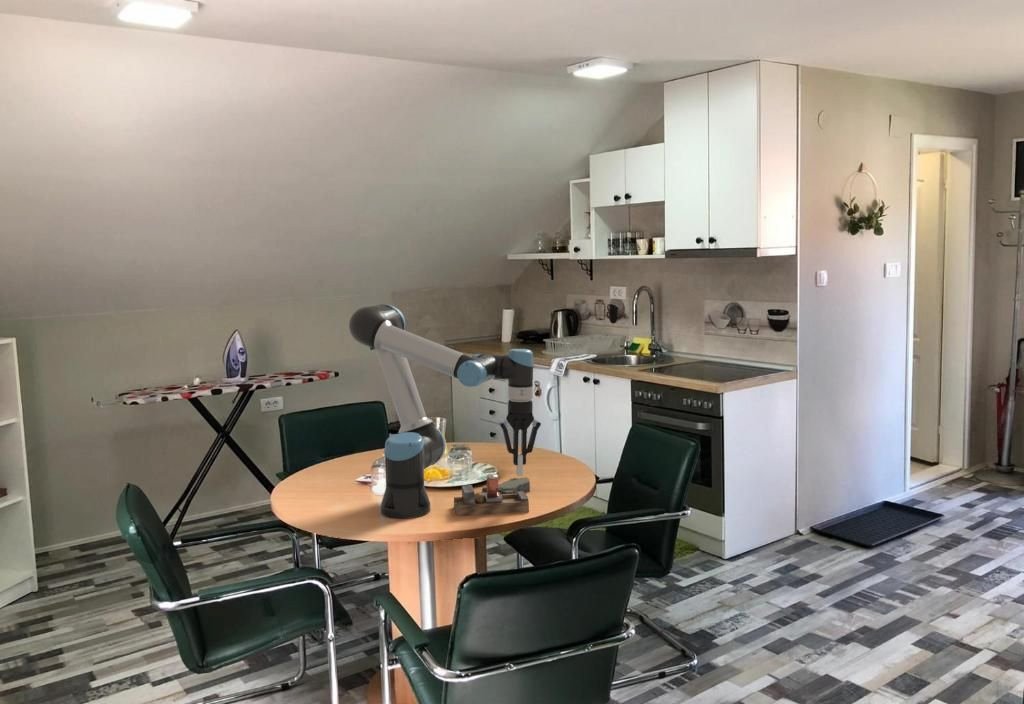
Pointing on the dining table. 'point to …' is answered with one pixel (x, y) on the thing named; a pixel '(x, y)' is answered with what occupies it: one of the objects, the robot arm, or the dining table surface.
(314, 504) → the dining table surface
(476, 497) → the nut
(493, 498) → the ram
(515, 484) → the rock
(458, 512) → the board
